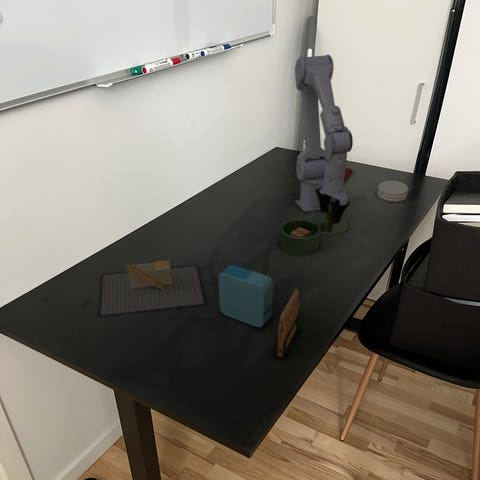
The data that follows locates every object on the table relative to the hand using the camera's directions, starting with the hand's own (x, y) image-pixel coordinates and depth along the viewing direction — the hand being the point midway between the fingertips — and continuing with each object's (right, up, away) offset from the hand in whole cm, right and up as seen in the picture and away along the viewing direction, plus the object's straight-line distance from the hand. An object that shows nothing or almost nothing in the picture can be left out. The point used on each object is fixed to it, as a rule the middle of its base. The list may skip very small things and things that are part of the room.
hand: (329, 217), depth 152 cm
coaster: (+24, +11, +19) cm, 33 cm away
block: (-10, -9, -7) cm, 15 cm away
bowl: (-10, -9, -6) cm, 15 cm away
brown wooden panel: (-17, -36, -39) cm, 56 cm away
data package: (-26, -31, -32) cm, 51 cm away
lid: (0, -2, +2) cm, 3 cm away
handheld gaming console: (+7, +21, +31) cm, 38 cm away
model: (-50, -23, -23) cm, 60 cm away
